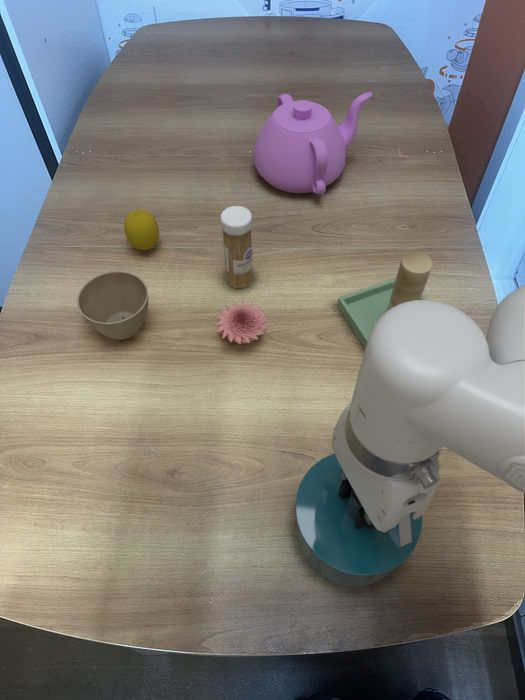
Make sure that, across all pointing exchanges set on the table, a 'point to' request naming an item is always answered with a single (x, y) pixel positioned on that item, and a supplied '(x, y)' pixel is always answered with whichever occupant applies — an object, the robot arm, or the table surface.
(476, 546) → the table surface
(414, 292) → the stick
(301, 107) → the teapot
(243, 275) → the sprinkles bottle
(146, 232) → the lemon
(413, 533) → the pot lid
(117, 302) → the bowl
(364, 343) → the tray
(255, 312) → the flower
